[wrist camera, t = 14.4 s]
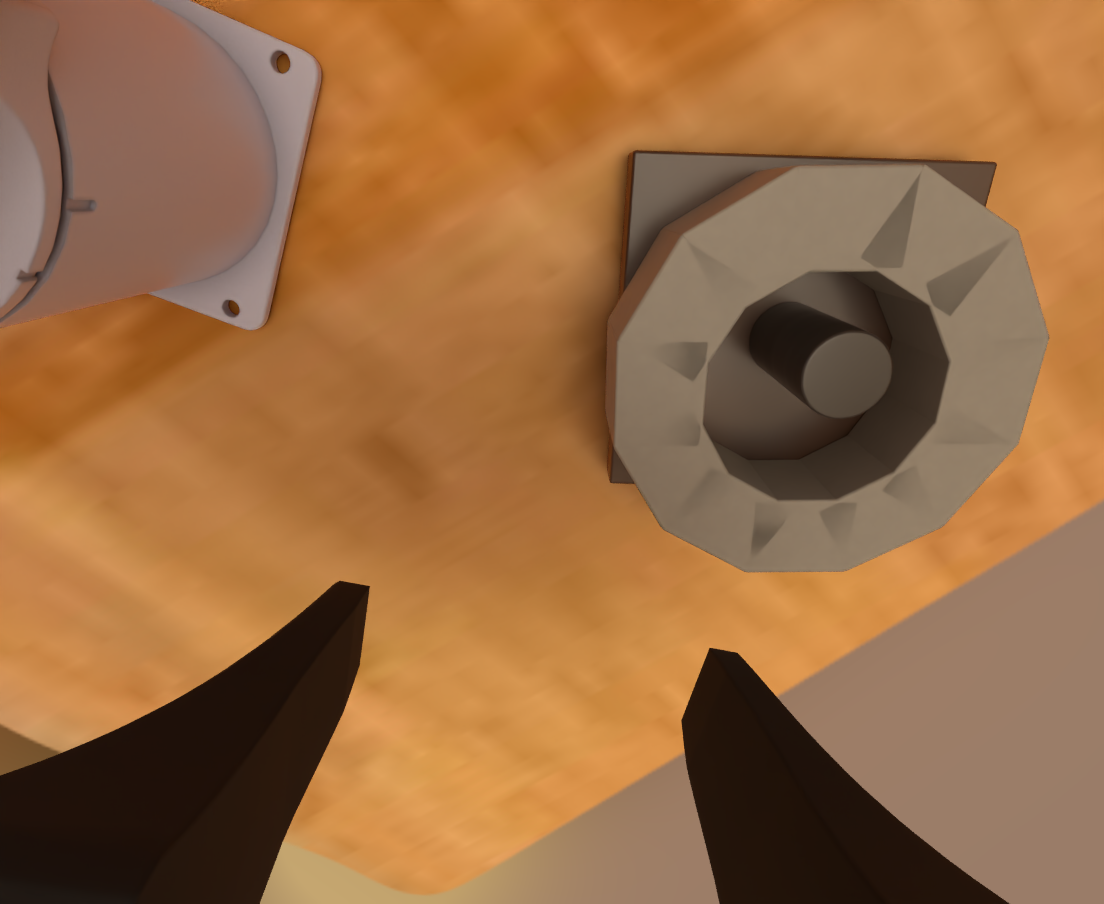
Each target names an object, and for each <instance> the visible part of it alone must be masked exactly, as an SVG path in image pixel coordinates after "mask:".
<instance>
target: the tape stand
mask: <svg viewBox="0 0 1104 904" xmlns="http://www.w3.org/2000/svg"><path fill="white" fill-rule="evenodd" d="M878 164H925V165H927V166H928V167H930V168H931V169H932V170H934V171H935V172H937V173H938V174H939V175H941V176H942V177H944V178H945V179H946V180H948V181H949V182H951V183H952V184H953V185H955V186H956V187H958V188H959V189H961V190H962V191H963V192H965V193H966V194H968V195H969V196H970V197H972V198H973V199H975V200H976V201H977V202H979V203H980V204H982V205H983V206H984V207H986V203H987V199H988V196H989V192H990V188H991V184H992V181H993V177H994V173H995V170H996V166H997V163H995V162H983V161H952V160H921V159H890V158H859V157H828V156H797V155H765V154H734V153H703V152H672V151H641V150H636V151H633V152H632V153H630V154H629V156H628V169H627V183H626V198H625V213H624V228H623V242H622V257H621V272H620V286H619V300H620V298H621V296H622V295H623V293H624V291H625V290H626V288H627V286H628V285H629V283H630V281H631V280H632V278H633V276H634V275H635V273H636V271H637V269H638V268H639V266H640V264H641V263H642V261H643V259H644V258H645V256H646V254H647V253H648V251H649V249H650V248H651V246H652V244H653V243H654V241H655V239H656V238H657V236H658V234H659V233H660V231H661V230H662V229H663V227H665V226H667V225H668V224H670V223H672V222H673V221H675V220H677V219H678V218H680V217H682V216H683V215H685V214H687V213H688V212H690V211H691V210H693V209H695V208H696V207H698V206H700V205H701V204H703V203H705V202H706V201H708V200H710V199H711V198H713V197H715V196H716V195H718V194H720V193H721V192H723V191H725V190H726V189H728V188H730V187H731V186H733V185H735V184H736V183H738V182H740V181H741V180H743V179H745V178H746V177H748V176H750V175H751V174H753V173H755V172H756V171H760V170H766V169H774V168H782V167H790V166H797V165H878ZM891 343H892V335H891V333H890V330H889V327H888V325H887V322H886V320H885V317H884V315H883V312H882V309H881V307H880V304H879V302H878V299H877V296H876V294H875V291H874V290H873V289H872V288H870V287H869V286H867V285H865V284H864V283H862V282H861V281H859V280H858V279H856V278H855V277H853V276H852V275H850V274H848V273H847V272H809V273H807V274H805V275H803V276H802V277H800V278H798V279H796V280H794V281H793V282H791V283H789V284H787V285H786V286H784V287H782V288H780V289H778V290H777V291H775V292H773V293H771V294H769V295H768V296H766V297H764V298H762V299H760V300H759V301H757V302H755V303H753V304H752V305H750V306H748V307H746V308H745V310H744V311H743V313H742V314H741V316H740V317H739V319H738V320H737V322H736V323H735V325H734V326H733V328H732V329H731V330H730V332H729V333H728V335H727V336H726V338H725V339H724V341H723V342H722V344H721V345H720V347H719V348H718V350H717V351H716V353H715V354H714V356H713V357H712V359H711V360H710V362H709V363H708V373H707V385H706V396H705V408H704V419H703V425H704V427H705V429H706V431H707V433H708V435H709V437H710V438H711V440H713V441H715V442H716V443H718V444H720V445H722V446H724V447H725V448H727V449H729V450H731V451H732V452H734V453H736V454H738V455H740V456H741V457H743V458H745V459H747V460H799V459H801V458H803V457H805V456H807V455H809V454H811V453H813V452H815V451H817V450H819V449H821V448H823V447H825V446H827V445H829V444H831V443H833V442H835V441H837V440H839V439H841V438H843V437H845V436H847V435H848V434H849V433H850V431H851V430H852V429H853V428H854V426H855V425H856V424H857V423H858V421H859V420H860V419H861V418H862V416H863V415H864V414H865V413H866V411H867V410H869V409H870V408H872V407H873V406H874V405H875V404H877V402H878V401H879V400H880V399H881V398H882V397H883V395H884V394H885V393H886V391H887V389H888V387H889V385H890V382H891V379H892V374H893V360H892V356H891V353H890V348H891ZM607 470H608V475H609V480H610V482H611V483H625V484H635V483H634V481H633V479H632V478H631V476H630V474H629V473H628V471H627V469H626V468H625V466H624V464H623V463H622V461H621V459H620V458H619V456H618V454H617V453H616V451H615V449H614V446H613V442H612V438H611V434H610V433H609V448H608V463H607Z"/></svg>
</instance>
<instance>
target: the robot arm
mask: <svg viewBox="0 0 1104 904" xmlns="http://www.w3.org/2000/svg"><path fill="white" fill-rule="evenodd" d="M282 54H287V55H288V57H289V59H290V68H289V70H288V71H287V72H286V73H284V74H282V73H280V72H279V70H278V68H277V62H276V61H277V59H278V57H279V56H280V55H282ZM321 80H322V71H321V68H320V65H319V63H318V62H317V60H316V59H315V57H313V56H312V55H310V54H309V53H308V52H306V51H304V50H302V49H300V48H297V47H295V46H293V45H291V44H288V43H286V42H284V41H281V40H279V39H277V38H275V37H272V36H270V35H268V34H265V33H263V32H261V31H259V30H256V29H254V28H252V27H249V26H247V25H245V24H243V23H240V22H238V21H236V20H233V19H231V18H229V17H227V16H224V15H222V14H220V13H218V12H215V11H213V10H211V9H208V8H206V7H204V6H202V5H199V4H197V3H195V2H192V1H190V0H0V328H2V327H7V326H11V325H15V324H19V323H23V322H28V321H32V320H36V319H40V318H44V317H49V316H53V315H57V314H61V313H65V312H70V311H74V310H78V309H82V308H86V307H91V306H95V305H99V304H103V303H108V302H112V301H116V300H120V299H124V298H129V297H133V296H137V295H141V294H145V293H148V294H150V295H153V296H156V297H159V298H161V299H164V300H167V301H169V302H172V303H175V304H177V305H180V306H183V307H186V308H188V309H191V310H194V311H196V312H199V313H202V314H204V315H207V316H210V317H213V318H215V319H218V320H221V321H223V322H226V323H229V324H231V325H234V326H237V327H240V328H242V329H245V330H256V329H258V328H261V327H262V326H263V325H265V324H266V322H267V320H268V316H269V312H270V307H271V303H272V299H273V294H274V290H275V285H276V281H277V276H278V272H279V267H280V263H281V258H282V254H283V250H284V245H285V241H286V236H287V232H288V227H289V223H290V218H291V214H292V209H293V205H294V201H295V196H296V192H297V187H298V183H299V178H300V174H301V169H302V165H303V160H304V156H305V151H306V147H307V143H308V138H309V134H310V129H311V125H312V120H313V116H314V111H315V107H316V102H317V98H318V94H319V89H320V85H321ZM230 300H233V301H234V302H236V303H237V304H238V306H239V310H240V312H239V314H238V315H235V314H234V313H232V312H231V311H230V309H229V306H228V303H229V301H230ZM369 588H370V586H366V585H360V584H355V583H349V582H344V581H339V582H337V583H335V584H334V585H332V586H331V587H330V588H329V589H328V590H327V591H326V592H325V593H324V594H322V595H321V596H320V597H319V598H318V599H317V600H316V601H314V602H313V603H312V604H311V605H310V606H309V607H307V608H306V609H305V610H304V611H303V612H302V613H300V614H299V615H298V616H297V617H296V618H294V619H293V620H292V621H291V622H289V623H288V624H287V625H285V626H284V627H283V628H282V629H280V630H279V631H278V632H277V633H275V634H274V635H273V636H271V637H270V638H269V639H268V640H266V641H265V642H264V643H262V644H261V645H259V646H258V647H257V648H255V649H254V650H252V651H251V652H250V653H248V654H247V655H245V656H244V657H242V658H241V659H240V660H238V661H237V662H235V663H234V664H232V665H231V666H230V667H228V668H227V669H225V670H223V671H222V672H220V673H219V674H217V675H216V676H214V677H213V678H211V679H209V680H208V681H206V682H205V683H203V684H201V685H200V686H198V687H196V688H195V689H193V690H191V691H189V692H188V693H186V694H184V695H183V696H181V697H179V698H177V699H176V700H174V701H172V702H170V703H168V704H166V705H164V706H162V707H161V708H159V709H157V710H155V711H153V712H151V713H149V714H147V715H145V716H143V717H141V718H139V719H137V720H135V721H133V722H131V723H129V724H127V725H125V726H123V727H121V728H119V729H116V730H114V731H112V732H110V733H107V734H105V735H103V736H101V737H98V738H96V739H94V740H92V741H89V742H87V743H85V744H82V745H80V746H77V747H75V748H73V749H70V750H68V751H65V752H63V753H60V754H58V755H56V756H53V757H50V758H48V759H45V760H43V761H41V762H37V763H35V764H32V765H29V766H26V767H24V768H21V769H18V770H15V771H12V772H9V773H6V774H4V775H1V776H0V904H260V901H261V898H262V896H263V893H264V890H265V888H266V885H267V882H268V880H269V877H270V874H271V871H272V869H273V866H274V863H275V861H276V858H277V855H278V853H279V850H280V847H281V845H282V842H283V840H284V837H285V835H286V833H287V830H288V828H289V826H290V824H291V821H292V819H293V817H294V814H295V812H296V810H297V808H298V806H299V804H300V802H301V800H302V798H303V796H304V794H305V792H306V789H307V787H308V785H309V783H310V781H311V779H312V777H313V775H314V773H315V771H316V769H317V767H318V764H319V762H320V760H321V758H322V756H323V754H324V752H325V750H326V748H327V746H328V744H329V741H330V739H331V737H332V735H333V733H334V731H335V729H336V727H337V725H338V722H339V720H340V718H341V716H342V714H343V712H344V709H345V706H346V703H347V700H348V698H349V695H350V692H351V689H352V686H353V683H354V680H355V677H356V674H357V671H358V668H359V665H360V658H361V650H362V642H363V635H364V627H365V619H366V612H367V604H368V596H369ZM682 730H683V740H684V749H685V756H686V764H687V770H688V775H689V779H690V783H691V787H692V791H693V796H694V799H695V804H696V808H697V812H698V816H699V820H700V824H701V828H702V832H703V836H704V839H705V843H706V848H707V851H708V855H709V859H710V863H711V868H712V871H713V875H714V879H715V884H716V889H717V893H718V898H719V903H720V904H1009V903H1007V902H1006V901H1005V900H1003V899H1002V898H1000V897H999V896H998V895H996V894H995V893H993V892H992V891H991V890H989V889H988V888H986V887H985V886H983V885H982V884H980V883H979V882H978V881H976V880H975V879H973V878H972V877H971V876H969V875H968V874H966V873H965V872H964V871H962V870H961V869H960V868H958V867H957V866H956V865H954V864H953V863H952V862H950V861H949V860H948V859H946V858H945V857H944V856H942V855H941V854H940V853H939V852H937V851H936V850H935V849H934V848H933V847H931V846H930V845H929V844H928V843H926V842H925V841H924V840H922V839H921V838H920V837H919V836H917V835H916V834H915V833H914V832H912V831H911V830H910V829H909V828H908V827H906V826H905V825H904V824H903V823H902V822H900V821H899V820H898V819H897V818H896V817H895V816H893V815H892V814H891V813H890V812H889V811H888V810H887V809H885V808H884V807H883V806H882V805H881V804H880V803H879V802H878V801H877V800H876V799H874V798H873V797H872V796H871V795H870V794H869V793H868V792H867V791H865V790H864V789H863V788H862V787H861V786H860V785H859V784H858V783H857V782H856V781H855V780H854V779H853V778H852V777H851V776H850V775H849V774H848V773H847V772H846V771H844V769H842V767H841V766H840V765H839V764H838V763H837V762H836V761H835V760H834V759H833V758H832V757H831V756H830V755H829V754H828V753H827V752H826V751H825V750H824V749H823V748H822V747H821V746H820V745H819V744H818V743H817V742H816V740H815V739H814V738H813V737H812V736H811V735H810V734H809V733H808V732H807V731H806V730H805V729H804V727H803V726H802V725H801V724H800V723H799V722H798V721H797V720H796V719H795V718H794V716H793V715H792V714H791V713H790V712H789V711H788V710H787V708H786V707H785V706H784V705H783V704H782V703H781V702H780V700H779V699H778V698H777V697H776V696H775V695H774V693H773V692H772V691H771V690H770V689H769V688H768V687H767V685H766V684H765V683H764V682H763V681H762V680H761V678H760V677H759V676H758V675H757V674H756V673H755V672H754V670H753V669H752V668H751V667H750V666H749V665H748V664H747V663H746V661H745V660H744V659H743V658H742V657H741V656H740V655H739V654H738V653H735V652H730V651H724V650H719V649H713V648H709V651H708V654H707V656H706V659H705V661H704V664H703V666H702V669H701V672H700V674H699V677H698V679H697V682H696V684H695V687H694V689H693V692H692V695H691V697H690V700H689V702H688V705H687V707H686V710H685V713H684V715H683V718H682Z"/></svg>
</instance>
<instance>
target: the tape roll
mask: <svg viewBox="0 0 1104 904" xmlns="http://www.w3.org/2000/svg"><path fill="white" fill-rule="evenodd" d="M809 272H847V273H848V274H850V275H852V276H853V277H855V278H856V279H858V280H859V281H861V282H862V283H864V284H865V285H867V286H869V287H870V288H872V289H873V290H874V291H875V294H876V296H877V299H878V302H879V304H880V307H881V309H882V312H883V315H884V317H885V320H886V322H887V325H888V327H889V330H890V333H891V335H892V343H891V348H890V353H891V356H892V360H893V374H892V379H891V382H890V385H889V387H888V389H887V391H886V393H885V394H884V395H883V397H882V398H881V399H880V400H879V401H878V402H877V404H875V405H874V406H873V407H872V408H870V409H869V410H867V411H866V413H865V414H864V415H863V416H862V418H861V419H860V420H859V421H858V423H857V424H856V425H855V426H854V428H853V429H852V430H851V431H850V433H849V434H848V435H847V436H845V437H843V438H841V439H839V440H837V441H835V442H833V443H831V444H829V445H827V446H825V447H823V448H821V449H819V450H817V451H815V452H813V453H811V454H809V455H807V456H805V457H803V458H801V459H799V460H747V459H745V458H743V457H741V456H740V455H738V454H736V453H734V452H732V451H731V450H729V449H727V448H725V447H724V446H722V445H720V444H718V443H716V442H715V441H713V440H711V438H710V437H709V435H708V433H707V431H706V429H705V427H704V425H703V419H704V408H705V396H706V385H707V373H708V363H709V362H710V360H711V359H712V357H713V356H714V354H715V353H716V351H717V350H718V348H719V347H720V345H721V344H722V342H723V341H724V339H725V338H726V336H727V335H728V333H729V332H730V330H731V329H732V328H733V326H734V325H735V323H736V322H737V320H738V319H739V317H740V316H741V314H742V313H743V311H744V310H745V308H746V307H748V306H750V305H752V304H753V303H755V302H757V301H759V300H760V299H762V298H764V297H766V296H768V295H769V294H771V293H773V292H775V291H777V290H778V289H780V288H782V287H784V286H786V285H787V284H789V283H791V282H793V281H794V280H796V279H798V278H800V277H802V276H803V275H805V274H807V273H809ZM1048 340H1049V334H1048V331H1047V327H1046V324H1045V321H1044V317H1043V314H1042V310H1041V307H1040V303H1039V300H1038V297H1037V293H1036V290H1035V286H1034V283H1033V279H1032V276H1031V273H1030V269H1029V266H1028V262H1027V259H1026V256H1025V252H1024V249H1023V245H1022V242H1021V238H1020V235H1019V231H1018V230H1017V229H1015V228H1014V227H1013V226H1011V225H1010V224H1008V223H1007V222H1006V221H1004V220H1003V219H1001V218H1000V217H999V216H997V215H996V214H994V213H993V212H991V211H990V210H989V209H987V208H986V207H984V206H983V205H982V204H980V203H979V202H977V201H976V200H975V199H973V198H972V197H970V196H969V195H968V194H966V193H965V192H963V191H962V190H961V189H959V188H958V187H956V186H955V185H953V184H952V183H951V182H949V181H948V180H946V179H945V178H944V177H942V176H941V175H939V174H938V173H937V172H935V171H934V170H932V169H931V168H930V167H928V166H927V165H925V164H878V165H797V166H790V167H782V168H774V169H766V170H760V171H756V172H755V173H753V174H751V175H750V176H748V177H746V178H745V179H743V180H741V181H740V182H738V183H736V184H735V185H733V186H731V187H730V188H728V189H726V190H725V191H723V192H721V193H720V194H718V195H716V196H715V197H713V198H711V199H710V200H708V201H706V202H705V203H703V204H701V205H700V206H698V207H696V208H695V209H693V210H691V211H690V212H688V213H687V214H685V215H683V216H682V217H680V218H678V219H677V220H675V221H673V222H672V223H670V224H668V225H667V226H665V227H663V229H662V230H661V231H660V233H659V234H658V236H657V238H656V239H655V241H654V243H653V244H652V246H651V248H650V249H649V251H648V253H647V254H646V256H645V258H644V259H643V261H642V263H641V264H640V266H639V268H638V269H637V271H636V273H635V275H634V276H633V278H632V280H631V281H630V283H629V285H628V286H627V288H626V290H625V291H624V293H623V295H622V296H621V298H620V300H619V301H618V303H617V305H616V306H615V308H614V310H613V312H612V313H611V315H610V317H609V319H608V321H607V359H606V401H605V413H606V418H607V422H608V426H609V430H610V434H611V438H612V442H613V446H614V449H615V451H616V453H617V454H618V456H619V458H620V459H621V461H622V463H623V464H624V466H625V468H626V469H627V471H628V473H629V474H630V476H631V478H632V479H633V481H634V483H635V484H636V486H637V488H638V490H639V491H640V493H641V495H642V496H643V498H644V500H645V501H646V503H647V505H648V506H649V508H650V510H651V511H652V513H653V515H654V516H655V518H656V520H657V521H658V523H659V525H660V526H661V527H662V529H663V530H665V531H667V532H669V533H671V534H673V535H675V536H676V537H678V538H680V539H682V540H684V541H686V542H688V543H690V544H692V545H694V546H696V547H698V548H700V549H702V550H704V551H705V552H707V553H709V554H711V555H713V556H715V557H717V558H719V559H721V560H723V561H725V562H727V563H729V564H731V565H733V566H735V567H736V568H738V569H740V570H742V571H744V572H844V571H847V570H849V569H852V568H854V567H856V566H858V565H860V564H863V563H865V562H867V561H869V560H871V559H874V558H876V557H878V556H880V555H882V554H885V553H887V552H889V551H891V550H893V549H895V548H898V547H900V546H902V545H904V544H906V543H909V542H911V541H913V540H915V539H917V538H920V537H922V536H924V535H926V534H928V533H931V532H933V531H935V530H937V529H939V528H941V527H943V526H944V525H945V524H946V523H947V522H948V521H949V519H950V518H951V517H952V516H953V515H954V514H955V513H956V512H957V511H958V510H959V508H960V507H961V506H962V505H963V504H964V503H965V502H966V501H967V500H968V499H969V497H970V496H971V495H972V494H973V493H974V492H975V491H976V490H977V489H978V488H979V486H980V485H981V484H982V483H983V482H984V481H985V480H986V479H987V478H988V477H989V476H990V474H991V473H992V472H993V471H994V470H995V469H996V468H997V467H998V466H999V465H1000V463H1001V462H1002V461H1003V460H1004V459H1005V458H1006V457H1007V456H1008V455H1009V454H1010V452H1011V451H1012V450H1013V449H1014V448H1015V447H1016V446H1017V445H1018V443H1019V440H1020V436H1021V433H1022V430H1023V426H1024V423H1025V419H1026V416H1027V412H1028V409H1029V406H1030V402H1031V399H1032V395H1033V392H1034V388H1035V385H1036V382H1037V378H1038V375H1039V371H1040V368H1041V364H1042V361H1043V358H1044V354H1045V351H1046V347H1047V344H1048Z"/></svg>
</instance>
